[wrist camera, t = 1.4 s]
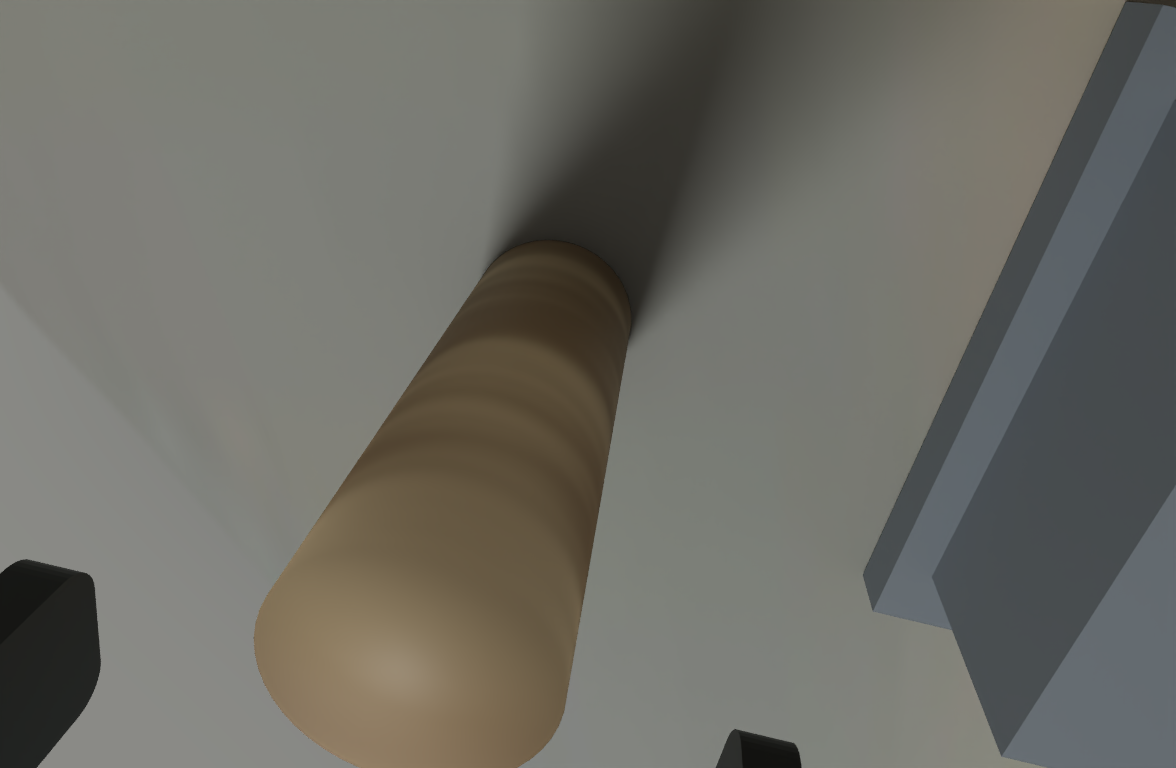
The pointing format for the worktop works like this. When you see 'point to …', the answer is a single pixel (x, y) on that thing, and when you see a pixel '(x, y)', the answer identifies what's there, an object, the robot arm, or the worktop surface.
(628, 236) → the worktop surface
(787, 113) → the worktop surface
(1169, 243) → the socket block
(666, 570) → the worktop surface
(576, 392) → the oak peg
